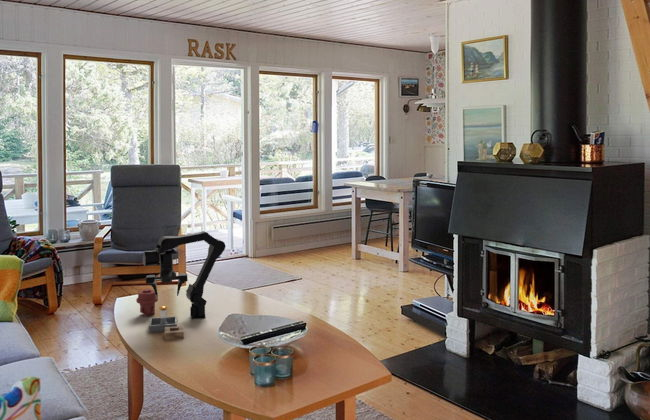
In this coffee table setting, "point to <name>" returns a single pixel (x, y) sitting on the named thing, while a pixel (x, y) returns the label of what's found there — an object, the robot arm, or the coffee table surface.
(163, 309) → the lock pin
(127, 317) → the coffee table surface
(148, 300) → the mechanical component
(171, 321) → the tray
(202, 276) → the robot arm
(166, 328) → the block
